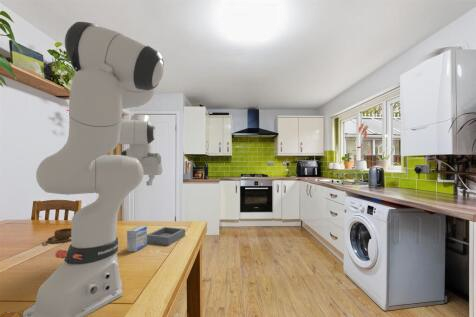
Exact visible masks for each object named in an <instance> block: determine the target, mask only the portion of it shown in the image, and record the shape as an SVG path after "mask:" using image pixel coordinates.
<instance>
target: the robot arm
mask: <svg viewBox="0 0 476 317" xmlns="http://www.w3.org/2000/svg"><path fill="white" fill-rule="evenodd" d="M64 48H65V52H66V55H67V57H68V59H69V62H70V64H71V67H72V68H73V70H74V71H75V73H74V75H73V77H72V80H71V84H70V91H69V99H68V117H69V118H68V120H69V122H68V123H69V124H68V127H69V128H68V136H67V140H66V142H65V144H64V145H63V147H61V149H59V150H58V151H57V152H55V153H54V154H51V155H49V156H47V157H45V158H44V159H43V160H42V161H41V162H40V163H39V165H38V166H37V169H36V173H35V176H36V181H37V184H38V186H39V187H40V189H42V190H43V192H45V193H48V194H58V195H67V196H68V195H82V194H83V195H85V194H98V196H97V199H96V200H95V201H94V202H92V203H90V204H87V205H86V206H83V207H82V208H80V209H79V210H77V211H76V212H75V213H74V214H73V216H72V217H71V221H70V222H71V237H70V239H71V241H70V244H69V247H68V249H67V250H64V249H58V250H56V252H55V253H54V257H55V258H58V259H61V260H62V259H63V262H62V264H60V265H59V267H58V268H57V269H55V271H54V272H52V273H51V275H50V276H49V277H48V278H47V279H46V280H45V281H44V282H43V283H42V284H41V285H40V286H39V288H38V291H37V294H36V297H35V303H34V304H33V305H31V306H30V307H28V308H26V309H25V310H24V311H23V313H22V317H86V316H87V315H89V314H91V313H94V312H95V311H97V310H99V309H100V308H103V307H105V306H106V305H108V304H110V303H112V302H113V301H115V300H116V299H118V298H121V297H122V296H123V289H122V288H123V281H122V279H121V278H122V277H121V274H120V269H119V261H118V260H119V259H118V253H117V252H118V251H119V238H118V236H117V226H118V218H119V217H118V216H119V211H120V208H121V205H122V204H123V202H124V201H125V199H126V198H127V196H128V195H130V193H131V192H132V191H134V190H135V189H137V187H138V186H139V185H140V184H141V183H142V181H143V178H144V176H145V175H146V176H148V181H147V180H146V186H148V187H149V186H150V187H151V186H152V185H153V181H154V179H155V176H161V175H162V173H163V165H162V155H160V154H159V153H158V152H156V153H155V152H152V142H153V141H154V140H155V129H156V128H155V127H156V126H155V125H154V124H152V122H151V117H150V116H148V115H146V114H144V113H136V114H132V115H131V117H130V119H125V118H123V110H127V109H132V108H138V107H139V108H140V107H141V106H144V105H146V104H147V103H149V102H150V101H151V100H152V98H153V96H154V92H155V88H157V87H158V86H159V84H160V82H161V81H162V79H163V75H164V67H165V66H164V65H165V64H164V58H163V57H162V55H161V53H160V52H159V51H157V50H156V49H155V48H153V47H151V46H149V45H144V44H142V43H141V42H139V41H137V40H135V39H133V38H130V37H128V36H125V35H124V34H123V33H121V32H118V31H115V30H113V29H109V28H106V27H102V26H98V25H97V24H96V23H92V22H87V21H77V22H75V23H73V24H72V25H71V26H70V27H69V28H68V30H67V31H66V34H65V37H64ZM118 145H128V147H129V148H127V149H124V150H121V151H119V154H109V153H111V152H113V151H114V150H115V149H116V147H118Z"/></svg>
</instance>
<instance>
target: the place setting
mask: <svg viewBox="0 0 476 317" xmlns="http://www.w3.org/2000/svg"><path fill="white" fill-rule="evenodd" d="M53 239H54V240H53ZM47 242H48V243H44V242H41V245H42V247H43V246H44V247H45V246H48V244H54V243H56V244H64V243H69V242H70V243H71V228H60V229H57V230H55V231H54V235H52V236H50V237H49V238H48V239H47Z"/></svg>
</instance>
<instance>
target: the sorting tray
mask: <svg viewBox="0 0 476 317" xmlns="http://www.w3.org/2000/svg"><path fill="white" fill-rule="evenodd" d="M185 237H186V229H185V228H181V227H179V228H178V227H170V226H164V227H161V228H159V229H157V230H154V231H153V232H150V233H147V244H155V245H163V246H168V247H169V246H171V245H172V244H174V243H176V242H177V241H179V240H180V239H182V238H185Z"/></svg>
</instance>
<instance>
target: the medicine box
mask: <svg viewBox="0 0 476 317" xmlns="http://www.w3.org/2000/svg"><path fill="white" fill-rule="evenodd" d="M147 235H148V227H147V226H146V225H138V226H135V227H133V228H132V229H128V230H127V231H126V251H127V252H134V253H135V252H139V251H140V250H142V249H143V248H145V247H146V246H148V243H147Z"/></svg>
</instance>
